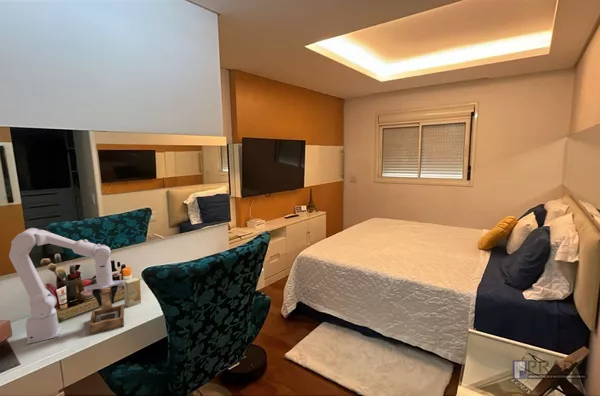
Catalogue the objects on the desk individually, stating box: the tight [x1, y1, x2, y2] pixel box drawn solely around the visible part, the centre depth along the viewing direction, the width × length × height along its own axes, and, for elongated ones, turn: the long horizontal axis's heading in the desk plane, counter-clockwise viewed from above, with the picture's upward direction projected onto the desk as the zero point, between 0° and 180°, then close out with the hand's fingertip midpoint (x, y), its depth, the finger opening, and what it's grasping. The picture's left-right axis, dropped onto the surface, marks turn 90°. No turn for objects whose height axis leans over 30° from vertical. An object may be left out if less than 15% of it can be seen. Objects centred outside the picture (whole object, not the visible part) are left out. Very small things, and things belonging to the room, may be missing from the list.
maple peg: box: [100, 290, 113, 310], centre depth 132 cm, size 4×4×7 cm
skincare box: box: [123, 277, 142, 308], centre depth 150 cm, size 6×4×12 cm
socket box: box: [88, 304, 125, 335], centre depth 133 cm, size 12×14×4 cm
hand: (106, 304), depth 132 cm, fingers closed on maple peg, 4 cm apart
